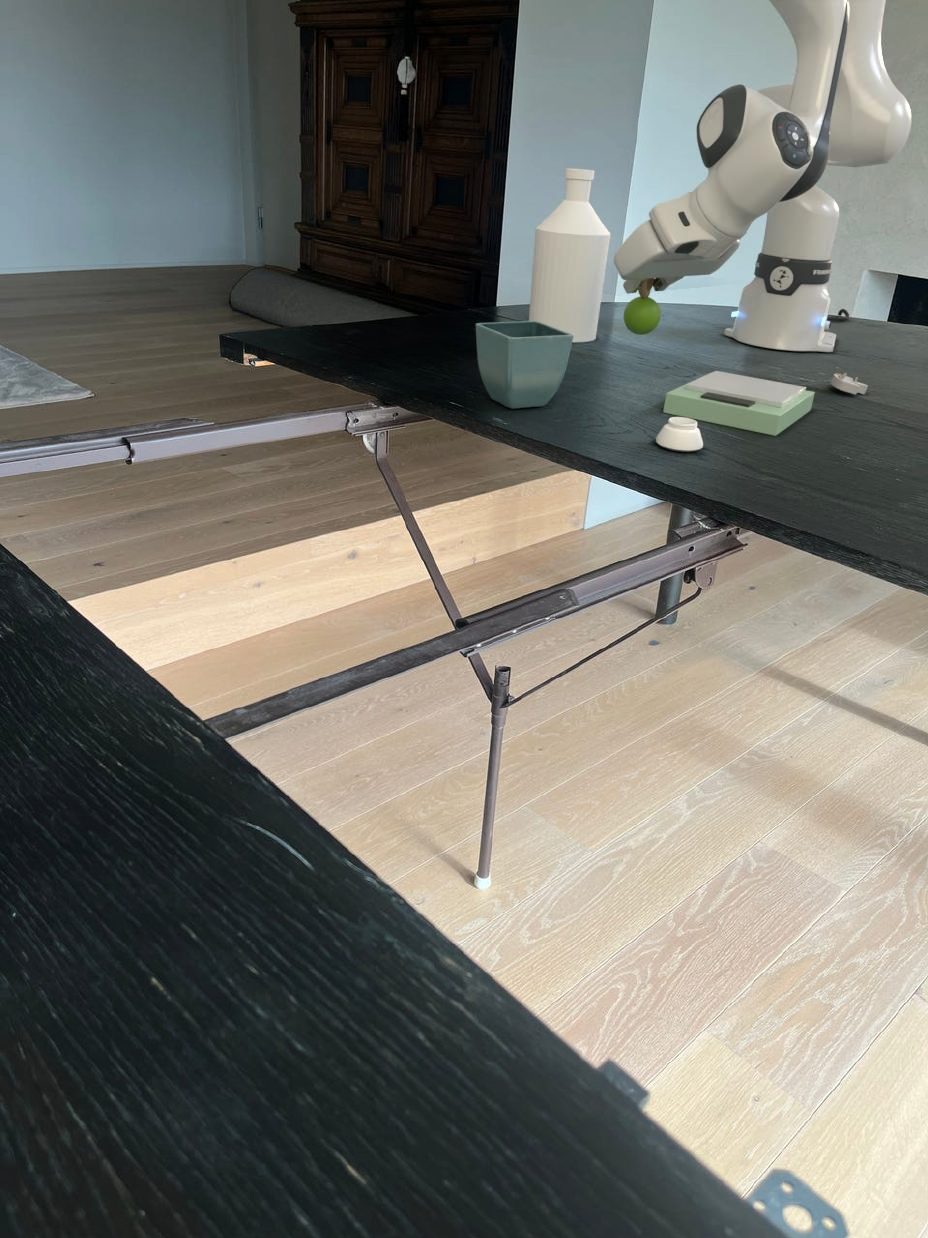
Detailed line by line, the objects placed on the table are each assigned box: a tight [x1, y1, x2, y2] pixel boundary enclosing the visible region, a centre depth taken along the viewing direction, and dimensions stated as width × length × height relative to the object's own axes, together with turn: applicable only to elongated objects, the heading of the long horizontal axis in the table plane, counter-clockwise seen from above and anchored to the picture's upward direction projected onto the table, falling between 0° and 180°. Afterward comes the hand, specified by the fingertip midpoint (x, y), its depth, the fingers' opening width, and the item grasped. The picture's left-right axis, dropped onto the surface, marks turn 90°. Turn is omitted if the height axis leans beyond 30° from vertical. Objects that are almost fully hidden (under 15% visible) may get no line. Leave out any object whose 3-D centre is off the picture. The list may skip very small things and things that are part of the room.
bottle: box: [528, 167, 612, 343], centre depth 153 cm, size 12×12×25 cm
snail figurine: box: [623, 278, 662, 336], centre depth 140 cm, size 5×6×12 cm
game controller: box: [781, 372, 869, 395], centre depth 134 cm, size 6×12×3 cm, turn 100°
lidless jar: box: [655, 416, 704, 453], centre depth 104 cm, size 5×3×5 cm
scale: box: [662, 370, 816, 437], centre depth 120 cm, size 16×14×3 cm
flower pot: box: [475, 320, 574, 410], centre depth 115 cm, size 9×9×9 cm
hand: (642, 288), depth 140 cm, fingers closed on snail figurine, 5 cm apart
